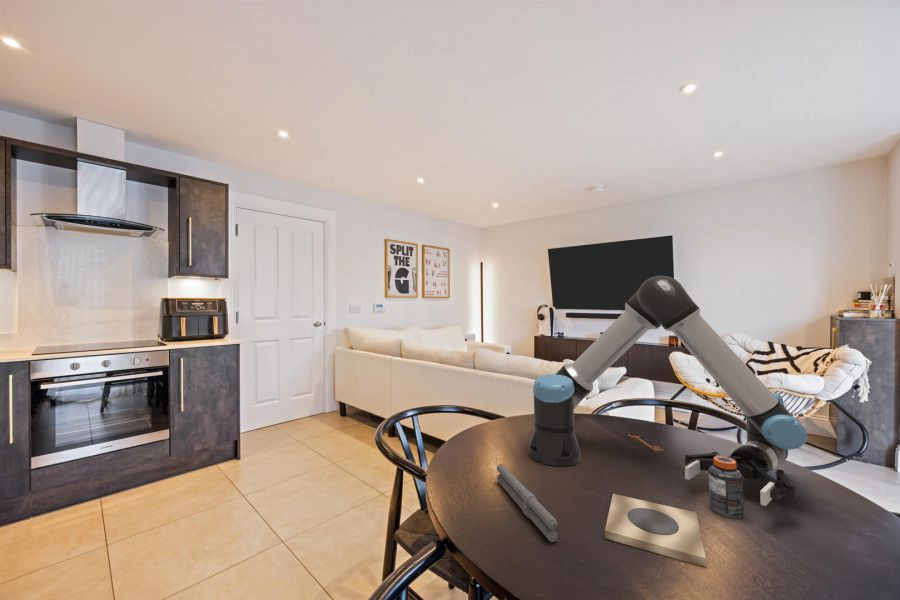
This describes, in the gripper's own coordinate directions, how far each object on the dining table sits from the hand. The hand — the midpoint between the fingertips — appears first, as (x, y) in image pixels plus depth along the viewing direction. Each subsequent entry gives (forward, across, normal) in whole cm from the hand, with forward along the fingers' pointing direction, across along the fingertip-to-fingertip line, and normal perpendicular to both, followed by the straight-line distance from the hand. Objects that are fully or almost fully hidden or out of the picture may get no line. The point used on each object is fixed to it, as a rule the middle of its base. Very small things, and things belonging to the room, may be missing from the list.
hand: (722, 485), depth 77 cm
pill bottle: (-2, 0, -7) cm, 7 cm away
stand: (+17, +7, -6) cm, 19 cm away
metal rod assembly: (+32, +27, -7) cm, 43 cm away
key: (-30, +31, -7) cm, 44 cm away
